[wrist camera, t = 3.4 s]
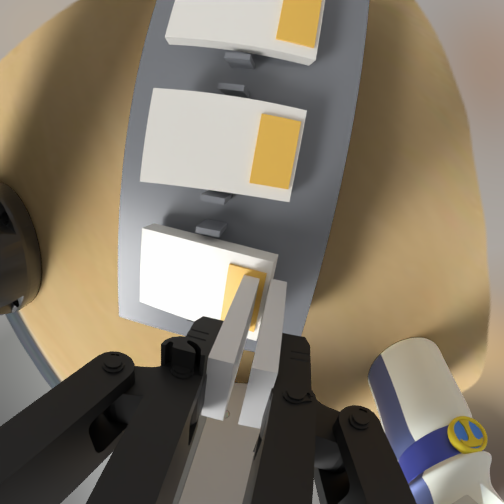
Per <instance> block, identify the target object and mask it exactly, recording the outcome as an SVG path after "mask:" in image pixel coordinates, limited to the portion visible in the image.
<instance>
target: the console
mask: <svg viewBox="0 0 504 504" xmlns="http://www.w3.org/2000/svg"><path fill="white" fill-rule="evenodd" d="M174 2H175V0H157V1H156V4H155V8H154V11H153V14H152V18H151V21H150V25H149V28H148V32H147V36H146V39H145V43H144V47H143V52H142V56H141V60H140V64H139V69H138V74H137V78H136V83H135V88H134V94H133V99H132V105H131V111H130V117H129V123H128V130H127V137H126V145H125V153H124V162H123V171H122V182H121V195H120V210H119V231H118V302H119V317H122V318H125V319H128V320H132V321H135V322H138V323H141V324H145V325H148V326H152V327H155V328H159V329H162V330H166V331H169V332H173V333H176V334H180V335H184V336H186V335H187V333H188V331H189V330H190V328H191V326H192V325H193V323H194V321H192V320H189V319H186V318H183V317H180V316H177V315H175V314H172V313H169V312H166V311H163V310H161V309H158V308H155V307H153V306H150V305H147V304H145V303H142V302H140V261H141V239H142V228H143V227H146V226H148V225H151V224H154V223H155V224H159V225H163V226H167V227H171V228H175V229H179V230H183V231H187V232H191V233H195V234H199V235H203V236H207V237H211V238H215V239H219V240H223V241H227V242H231V243H235V244H239V245H243V246H247V247H251V248H255V249H259V250H263V251H266V252H270V253H274V254H278V259H277V264H276V268H275V273H274V278H273V279H275V280H280V281H285V282H287V289H286V300H285V310H284V320H283V330H282V333H286V334H291V335H296V336H301V334H302V331H303V328H304V325H305V321H306V318H307V315H308V311H309V308H310V304H311V301H312V297H313V294H314V290H315V287H316V283H317V280H318V276H319V272H320V269H321V265H322V261H323V257H324V253H325V250H326V246H327V242H328V238H329V234H330V230H331V225H332V221H333V217H334V213H335V209H336V204H337V200H338V195H339V191H340V186H341V182H342V177H343V172H344V167H345V163H346V158H347V153H348V147H349V142H350V137H351V132H352V126H353V120H354V115H355V109H356V103H357V97H358V90H359V84H360V77H361V70H362V63H363V55H364V47H365V39H366V30H367V21H368V10H369V0H325V5H324V11H323V18H322V24H321V31H320V37H319V43H318V49H317V55H316V60H315V61H314V62H313V63H312V64H311V65H309V66H308V65H304V64H300V63H296V62H291V61H287V60H282V59H278V58H273V57H268V56H263V55H257V54H252V53H246V52H239V51H232V50H225V49H217V48H208V47H198V46H186V45H169V43H168V42H167V40H166V38H165V34H166V30H167V27H168V23H169V19H170V16H171V12H172V9H173V5H174ZM153 88H163V89H176V90H188V91H197V92H206V93H214V94H222V95H229V96H236V97H242V98H248V99H254V100H259V101H265V102H270V103H275V104H280V105H285V106H289V107H294V108H298V109H303V110H307V113H306V118H305V124H304V129H303V135H302V140H301V145H300V150H299V156H298V161H297V166H296V171H295V176H294V181H293V186H292V191H291V196H290V201H289V202H285V201H279V200H273V199H267V198H260V197H254V196H248V195H241V194H234V193H228V192H221V191H213V190H206V189H199V188H191V187H183V186H175V185H166V184H158V183H149V182H140V174H141V165H142V157H143V149H144V142H145V135H146V128H147V121H148V115H149V109H150V104H151V98H152V93H153ZM257 341H258V339H257ZM257 341H254V340H251V339H248V338H247V339H246V343H245V346H244V350H247V351H252V352H255V350H256V346H257Z"/></svg>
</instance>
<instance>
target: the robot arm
mask: <svg viewBox="0 0 504 504" xmlns="http://www.w3.org/2000/svg"><path fill="white" fill-rule="evenodd" d="M259 280H260V279H259V278H255V277H251V276H248V275H244V276H243V278H242V280H241V283H240V285H239V287H238V290H237V292H236V294H235V297H234V299H233V301H232V303H231V306H230V308H229V310H228V313H227V315H226V317H225V319H224V321H222V320H218V319H214V318H210V317H206V316H202V317H201V318H199V319H197V320H196V321H194V323H193V325H192V326H191V328H190V330H189V331H188V333H187V335H186V336H185V337H182V336H179V337H172V338H169V339H167V340H165V341H164V342H163V343H162V344H161V366H159V367H139V366H134V363H133V361H132V359H131V358H130V357H129V356H127V355H126V354H123V353H120V352H106V353H103V354H101V355H99V356H97V357H96V358H94V359H93V360H92V361H90V362H89V363H87V364H86V365H85V366H83V367H82V368H80V369H79V370H78V371H76V372H75V373H73V374H72V375H71V376H69V377H68V378H67V379H65V380H64V381H62V382H61V383H60V384H58V385H57V386H55V387H54V388H53V389H51V390H50V391H49V392H48V393H46V394H44V395H43V396H42V397H40V398H39V399H37V400H36V401H35V402H33V403H32V404H31V405H29V406H28V407H26V408H25V409H24V410H22V411H21V412H20V413H18V414H17V415H16V416H14V417H13V418H11V419H10V420H9V421H7V422H6V423H5V424H3V425H2V426H0V504H60V503H61V502H62V501H63V500H64V499H65V498H66V497H68V495H70V494H71V492H73V491H74V490H75V489H76V488H77V487H78V486H79V485H80V484H81V483H82V482H83V481H84V480H85V479H86V478H87V477H88V476H89V475H90V474H91V473H92V472H93V471H94V470H95V469H96V468H97V467H98V466H99V465H100V464H101V463H102V462H103V461H104V460H105V459H106V458H107V457H108V456H109V455H110V454H111V453H112V452H113V453H112V455H111V457H110V459H109V461H108V463H107V465H106V466H105V468H104V470H103V472H102V474H101V476H100V478H99V479H98V481H97V483H96V485H95V487H94V489H93V491H92V493H91V495H90V497H89V499H88V501H87V503H86V504H172V503H173V500H174V497H175V494H176V491H177V488H178V485H179V482H180V479H181V476H182V473H183V470H184V467H185V464H186V461H187V458H188V455H189V452H190V449H191V446H192V443H193V440H194V437H195V434H196V431H197V428H198V420H199V416H200V413H201V410H202V414H201V415H203V416H206V417H210V418H214V419H218V420H222V421H223V419H224V416H225V412H226V409H227V405H228V402H229V399H230V395H231V392H232V388H233V385H234V381H235V378H236V374H237V371H238V367H239V364H240V360H241V357H242V353H243V350H244V346H245V343H246V339H247V336H248V332H249V329H250V324H251V319H252V314H253V310H254V305H255V300H256V295H257V290H258V285H259ZM40 281H41V257H40V250H39V245H38V240H37V236H36V233H35V229H34V226H33V223H32V221H31V218H30V216H29V214H28V212H27V210H26V208H25V206H24V204H23V202H22V201H21V199H20V198H19V196H18V195H17V194H16V193H15V192H14V191H13V190H12V189H11V188H10V187H9V186H7V185H6V184H4V183H1V182H0V315H3V314H8V313H13V312H16V311H18V310H20V309H21V308H23V307H24V306H26V305H27V304H29V303H30V302H31V301H32V300H33V299H34V298H35V297H36V295H37V293H38V290H39V287H40ZM286 289H287V282H285V281H280V280H275V279H271V283H270V287H269V292H268V296H267V301H266V305H265V310H264V314H263V319H262V323H261V328H260V332H259V337H258V341H257V346H256V350H255V354H254V359H253V363H252V367H251V372H250V376H249V380H248V385H247V389H246V393H245V397H244V401H243V406H242V410H241V414H240V418H239V422H238V424H240V425H244V426H249V427H254V428H259V429H260V427H261V429H260V433H259V436H258V439H257V441H256V444H255V447H254V450H253V452H254V456H253V460H252V464H251V469H250V473H249V477H248V482H247V486H246V490H245V494H244V498H243V502H242V504H312V495H313V480H315V484H316V488H317V492H318V497H319V501H320V504H417V503H416V501H415V498H414V496H413V494H412V491H411V489H410V487H409V484H408V482H407V480H406V478H405V475H404V473H403V471H402V469H401V467H400V464H399V462H398V460H397V458H396V455H395V453H394V451H393V449H392V447H391V445H390V442H389V440H388V438H387V436H386V434H385V432H384V430H383V428H382V425H381V423H380V421H379V419H378V418H377V416H376V415H375V414H374V413H373V412H372V411H371V410H369V409H367V408H365V407H362V406H355V405H352V406H348V407H345V408H344V409H343V410H341V412H339V411H336V410H334V409H331V408H328V407H326V406H324V405H323V404H321V403H320V402H318V401H317V399H316V397H315V394H314V393H313V391H312V390H311V363H310V345H309V343H308V342H307V340H306V338H305V337H301V336H296V335H291V334H286V333H282V330H283V320H284V310H285V300H286Z"/></svg>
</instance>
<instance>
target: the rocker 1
mask: <svg viewBox="0 0 504 504" xmlns="http://www.w3.org/2000/svg"><path fill="white" fill-rule="evenodd" d="M324 5H325V0H175V2H174V5H173V9H172V12H171V16H170V19H169V23H168V27H167V30H166V34H165V38H166V40H167V42H168V43H169V45H186V46H198V47H208V48H217V49H225V50H232V51H239V52H246V53H252V54H257V55H263V56H268V57H273V58H278V59H282V60H287V61H291V62H296V63H300V64H304V65H308V66H309V65H311V64H312V63H313V62H314V61H315V60H316V55H317V49H318V43H319V37H320V31H321V24H322V18H323V11H324Z"/></svg>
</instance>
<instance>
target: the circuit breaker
mask: <svg viewBox="0 0 504 504" xmlns="http://www.w3.org/2000/svg"><path fill="white" fill-rule="evenodd" d="M247 385H248V384H246V383H234V385H233V388H232V392H231V395H230V399H229V402H228V405H227V409H226V412H225V416H224V419H223V421H222V420H218V419H214V418H210V417H206V416H203V415H201V414H202V410H201V413H200V416H199V420H198V428H197V431H196V434H195V437H194V440H193V443H192V446H191V449H190V452H189V455H188V458H187V461H186V464H185V467H184V470H183V473H182V476H181V479H180V482H179V485H178V488H177V491H176V494H175V497H174V500H173V503H172V504H242V502H243V498H244V494H245V490H246V486H247V482H248V477H249V473H250V469H251V464H252V460H253V456H254V452H253V450H254V447H255V444H256V441H257V439H258V436H259V433H260V429H261V427H260V429H259V428H254V427H249V426H244V425H240V424H238V422H239V418H240V414H241V410H242V406H243V401H244V397H245V393H246V389H247Z"/></svg>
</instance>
